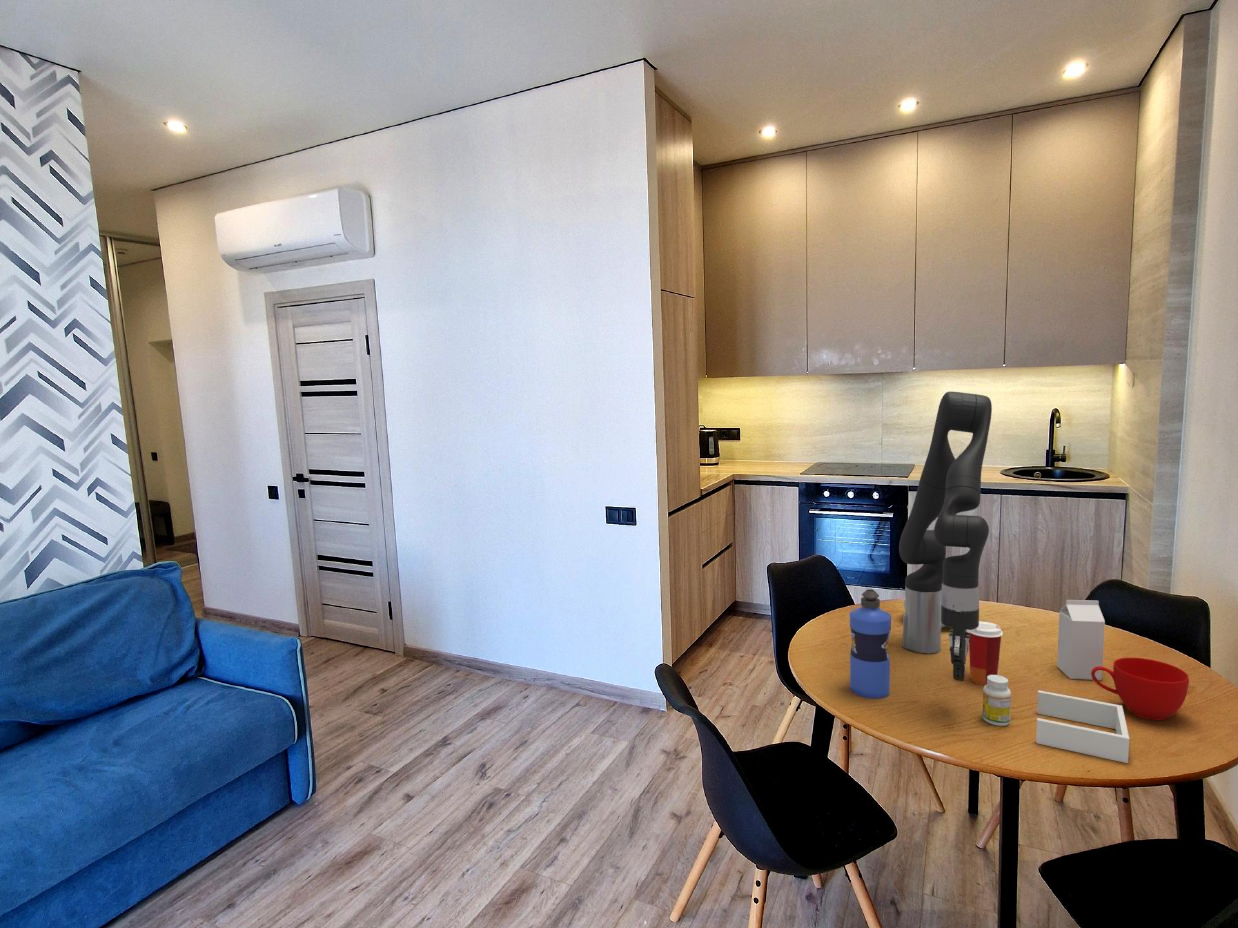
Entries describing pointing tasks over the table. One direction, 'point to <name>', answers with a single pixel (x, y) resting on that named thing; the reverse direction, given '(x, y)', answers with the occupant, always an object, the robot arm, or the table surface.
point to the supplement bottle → (997, 701)
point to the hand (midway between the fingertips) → (958, 679)
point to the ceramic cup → (1147, 686)
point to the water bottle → (870, 648)
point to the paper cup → (984, 651)
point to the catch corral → (1079, 736)
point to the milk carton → (1080, 639)
